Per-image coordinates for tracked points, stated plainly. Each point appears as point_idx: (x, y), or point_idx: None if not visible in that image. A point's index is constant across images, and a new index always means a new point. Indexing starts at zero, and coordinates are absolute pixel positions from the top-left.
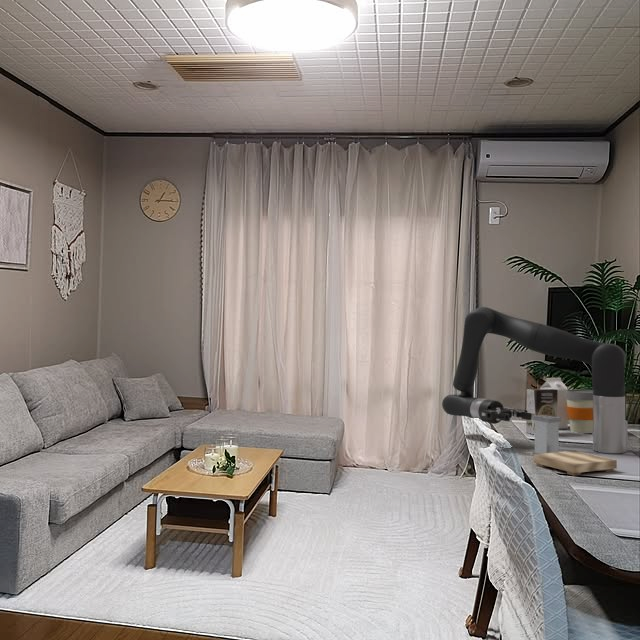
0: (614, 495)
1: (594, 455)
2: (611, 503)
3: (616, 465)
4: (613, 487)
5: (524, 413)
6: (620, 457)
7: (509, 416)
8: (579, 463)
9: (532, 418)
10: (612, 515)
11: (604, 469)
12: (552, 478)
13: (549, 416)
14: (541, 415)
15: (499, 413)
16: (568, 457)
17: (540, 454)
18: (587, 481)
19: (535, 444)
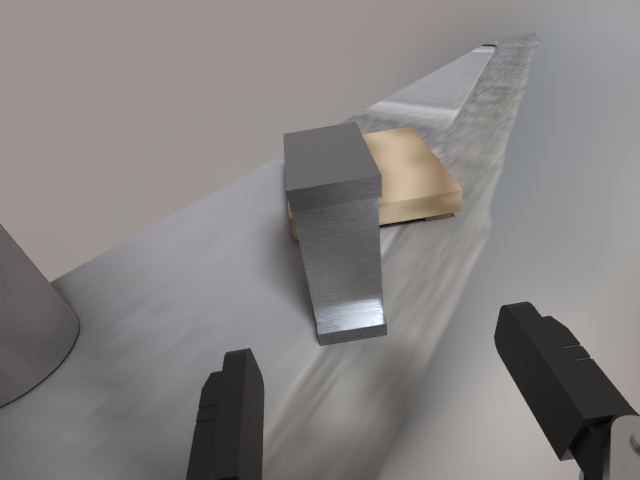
0: (415, 96)
1: None
2: (442, 82)
3: None
4: (387, 114)
5: (245, 429)
6: (117, 268)
7: (503, 312)
8: (392, 131)
9: (381, 189)
10: (467, 65)
11: None
12: (467, 142)
13: (303, 156)
14: (319, 177)
15: (625, 420)
16: (377, 164)
17: (439, 189)
18: None
19: (380, 282)
